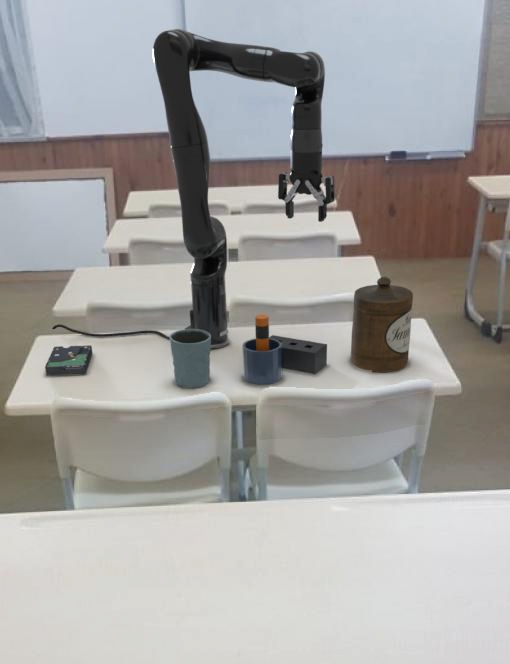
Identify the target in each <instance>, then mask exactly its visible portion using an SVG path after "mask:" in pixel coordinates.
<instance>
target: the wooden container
mask: <svg viewBox="0 0 510 664" xmlns="http://www.w3.org/2000/svg"><path fill="white" fill-rule="evenodd" d="M391 282H392V281H391V278H389V277H388V276H381V277H380V278H378V279H377V281H376V284H370V285H366V286H365V285H364V286H362V287H359V288H357V289H355V291H354V294H353V309H352V310H353V312H352V324H351V325H352V326H351V341H350V343H351V345H350V363H351V365H353V366H355V367H356V368H359V369H361V370H365V371H371V372H372V373H389V372H396V371H399V370H402V369H404V368H405V367H406V366H407V365H408V363H409V355H410V354H409V352H410V340H411V327H412V312H413V310H412V309H413V303H414V302H413V299H414V293H413V291H411V289H409V288H407V287H404V286H399V285H394V284H392V283H391Z"/></svg>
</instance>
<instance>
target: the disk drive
mask: <svg viewBox="0 0 510 664" xmlns="http://www.w3.org/2000/svg"><path fill="white" fill-rule="evenodd" d="M92 356H93V347H92V345H90V344H89V345H88V344H87V345H70V346H68V347H64V346H60V345H59V346H53V348H52V351H51V353H50V355H49V357H48V359H47V362H46V364H45V365H44V368H45V369H44V370H45V375H46V376H52V377H53V376H54V377H55V376H77V375H86V374H87V370H88V368H89V365H90V362H91V359H92Z"/></svg>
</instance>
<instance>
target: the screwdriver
mask: <svg viewBox="0 0 510 664" xmlns="http://www.w3.org/2000/svg"><path fill="white" fill-rule="evenodd" d="M254 319H255V325H254V326H255V327H254V328H255V339H256V351H269V337H270V322H269V321H270V319H269V315H267V314H256V315H255V317H254Z"/></svg>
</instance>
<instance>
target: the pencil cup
mask: <svg viewBox="0 0 510 664" xmlns="http://www.w3.org/2000/svg"><path fill="white" fill-rule="evenodd" d="M241 347H242V368H243V369H242V371H243V373H242V374H243V380H244V381H245V382H246V383H249V384H251V385H254V386H255V385H256V386H269V385H273V384H276V383H279V382H280V381H281V380H282V379H283V368H282V344H281V342H280V341H278V340H275V339H271V338H269V351H256V338H252V339H249V340H246V341H244V342H243V343H242V346H241Z"/></svg>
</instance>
